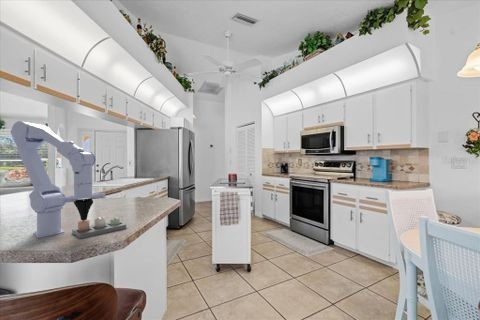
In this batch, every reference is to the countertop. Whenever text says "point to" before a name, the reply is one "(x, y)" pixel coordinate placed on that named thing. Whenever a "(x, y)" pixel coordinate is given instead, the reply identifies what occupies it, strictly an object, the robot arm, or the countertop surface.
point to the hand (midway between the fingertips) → (83, 219)
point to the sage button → (114, 221)
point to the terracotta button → (83, 225)
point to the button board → (98, 230)
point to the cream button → (100, 222)
